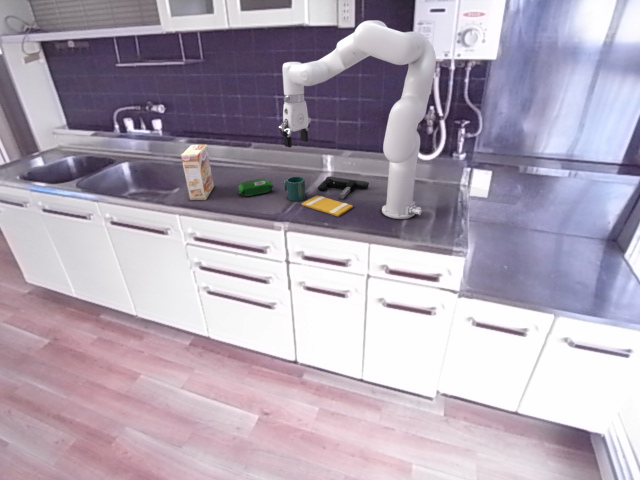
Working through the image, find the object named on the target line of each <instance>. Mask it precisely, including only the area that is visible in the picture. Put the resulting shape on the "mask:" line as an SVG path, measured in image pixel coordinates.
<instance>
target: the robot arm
mask: <svg viewBox="0 0 640 480" xmlns="http://www.w3.org/2000/svg"><path fill="white" fill-rule="evenodd" d="M368 57H373V58H376V59H378V60H382V61H383V62H384V61H385V62H386V63H390V64H393V65H396V66H404V65H407V67H408V68H407V73H406V76H405V79H404V83H403V89H402V94H401V97H400V99H398V100H397V101H396V102H395V103H394V104H393V106H392V107H391V109H390V112H389V114H388V119H387V124H386V129H385V134H384V138H383V147H382V152H383V155H384V157H385V158H386V159H387V161H389V164H388V177H387V191H386V203H385V204H384V205H383V206H382V207H381V213H382V214H383V215H384V216H386V217H388V218H391V219H396V220H407V219H410V218H412V217H414V216H415V215H418V216H420V215H422V213H423V210H422V207H421V206H417V205H416V201H414V192H415V182H416V174H417V166H418V159H419V155H420V149H421V136H420V134H419V132H418V126H419V124H420V123H421V122H422V121H423V119H424V118H425V116H426V113H427V107H428V103H429V98H430V94H431V90H432V86H433V82H434V77H435V72H436V67H437V66H436V65H437V56H436V51H435V48H434V46H433V43H431V41H430V40H429V39H428V38H427V37H426V36H425V35H424V34H422V33H420V32H417V31H405V32H403V31H399V30H396V29H394V28H390V27H388V26H387V25H386V23H384V21H381V20H365V21H363V22H361V23H359V24H358V25H357V27H356V28H355V30H354V32H352V33H351V34H349V35H347V36H346V37H344V38H342V39H341V40H339V41H338V42H337V44H336V47H335V49H334V50H333V51H331V52H329V53H328V54H326V55H325V56H323V57H322V58H320V59H318V60H313V61H308V62H304V63H302V62H300V61H288V62H284V63H283V64H282V83H283V101H284V103H283V109H282V123H281V124H280V125H279V126H278V129H279V132H280V134H281V135H282V137H283V141H284V143H283V144H284V147H286V148H292V146H293V144H292V136H291V135H292V134H293V133H292V132H294V133H295V132H297V131H300V140H301V142H305V143H308V142H309V130H310V126H311V122H312V118H311V117H309V112H308V105H307V102H306V100H305V87H312V86H316V85H318V84H319V85H320V84H321V83H325V82H327V81H328V80H330V79H332V78H334V77H335V76H337V75H339V74H340V73H342V72H344V71H345V70H348V69H350V68H351V67H352V66H355V65H356V64H358V63H359V62H361V61H362V60H364V59H366V58H368Z"/></svg>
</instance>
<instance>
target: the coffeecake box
mask: <svg viewBox="0 0 640 480" xmlns="http://www.w3.org/2000/svg"><path fill="white" fill-rule="evenodd" d="M180 157H181V161H182V167H183V172H184V176H185V182H186V187H187V192H188V195H189V201H206V200H207V199H208V198H209V196H210V195H211V193H212V191H213V189H214V187H215V184H214V178H213V174H212V168H211V160H210V156H209V149H208V144H191V145H190V146H189V147H187V149H185V151H184V152H182V153H181V154H180Z"/></svg>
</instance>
